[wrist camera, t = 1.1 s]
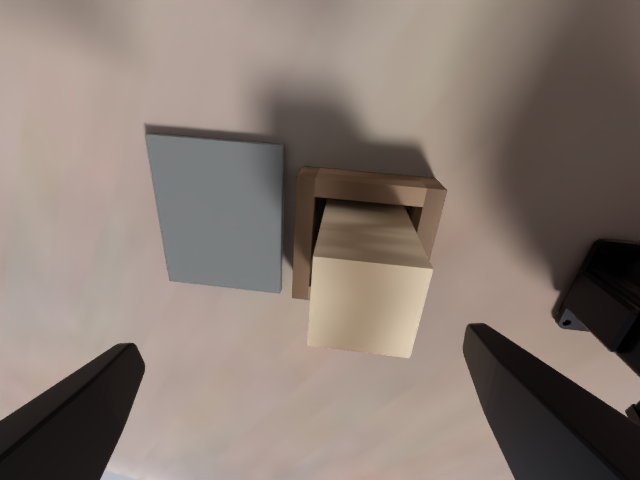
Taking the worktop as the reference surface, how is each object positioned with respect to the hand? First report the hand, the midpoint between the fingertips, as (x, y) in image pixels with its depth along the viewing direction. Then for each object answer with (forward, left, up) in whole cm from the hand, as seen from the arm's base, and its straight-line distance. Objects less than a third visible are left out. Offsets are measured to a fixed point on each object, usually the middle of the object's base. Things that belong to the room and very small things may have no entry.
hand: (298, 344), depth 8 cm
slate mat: (+7, +2, -12) cm, 14 cm away
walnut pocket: (-2, +2, -12) cm, 12 cm away
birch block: (-2, +2, -12) cm, 12 cm away
